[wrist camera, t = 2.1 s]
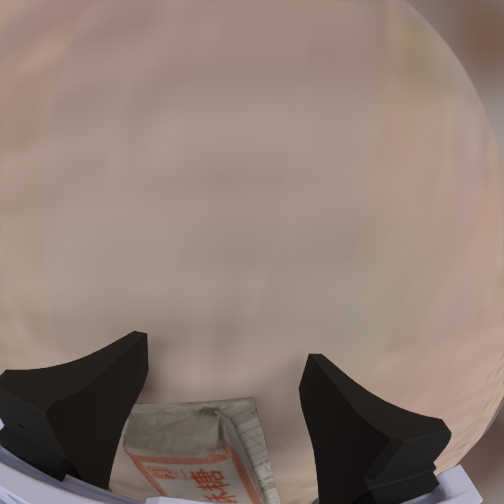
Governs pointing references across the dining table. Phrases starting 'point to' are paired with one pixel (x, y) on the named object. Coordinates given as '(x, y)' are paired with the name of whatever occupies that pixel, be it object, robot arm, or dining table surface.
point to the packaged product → (202, 450)
